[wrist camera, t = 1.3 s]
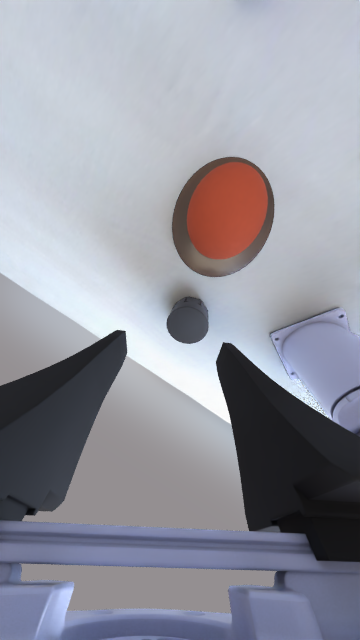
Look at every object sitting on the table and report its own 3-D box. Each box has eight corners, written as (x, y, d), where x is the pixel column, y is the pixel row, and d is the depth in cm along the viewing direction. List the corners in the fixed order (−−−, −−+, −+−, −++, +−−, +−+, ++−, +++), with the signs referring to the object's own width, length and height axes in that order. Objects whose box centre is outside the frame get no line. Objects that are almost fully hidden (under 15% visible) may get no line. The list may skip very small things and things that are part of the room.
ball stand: (284, 241, 14) (296, 240, 12) (201, 291, 18) (201, 295, 16) (246, 128, 11) (254, 104, 9) (156, 214, 15) (149, 209, 13)
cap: (214, 319, 19) (216, 334, 16) (185, 333, 21) (181, 349, 17) (196, 289, 18) (194, 298, 14) (166, 307, 20) (158, 319, 16)
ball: (261, 234, 13) (300, 221, 8) (207, 269, 15) (209, 277, 10) (236, 167, 12) (263, 93, 6) (179, 217, 14) (163, 194, 8)
